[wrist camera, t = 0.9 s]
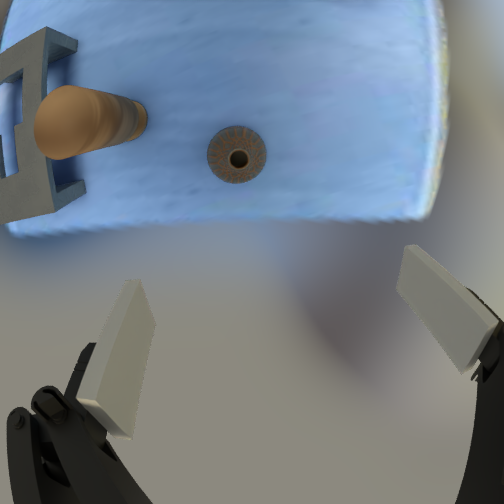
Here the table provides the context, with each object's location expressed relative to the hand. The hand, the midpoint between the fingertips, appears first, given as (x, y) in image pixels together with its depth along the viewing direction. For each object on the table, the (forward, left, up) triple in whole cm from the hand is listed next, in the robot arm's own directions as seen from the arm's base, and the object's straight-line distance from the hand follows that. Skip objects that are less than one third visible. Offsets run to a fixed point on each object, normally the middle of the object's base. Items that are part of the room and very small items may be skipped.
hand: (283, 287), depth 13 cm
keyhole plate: (-13, -30, -26) cm, 41 cm away
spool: (-10, -15, -26) cm, 31 cm away
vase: (-4, -1, -26) cm, 26 cm away
